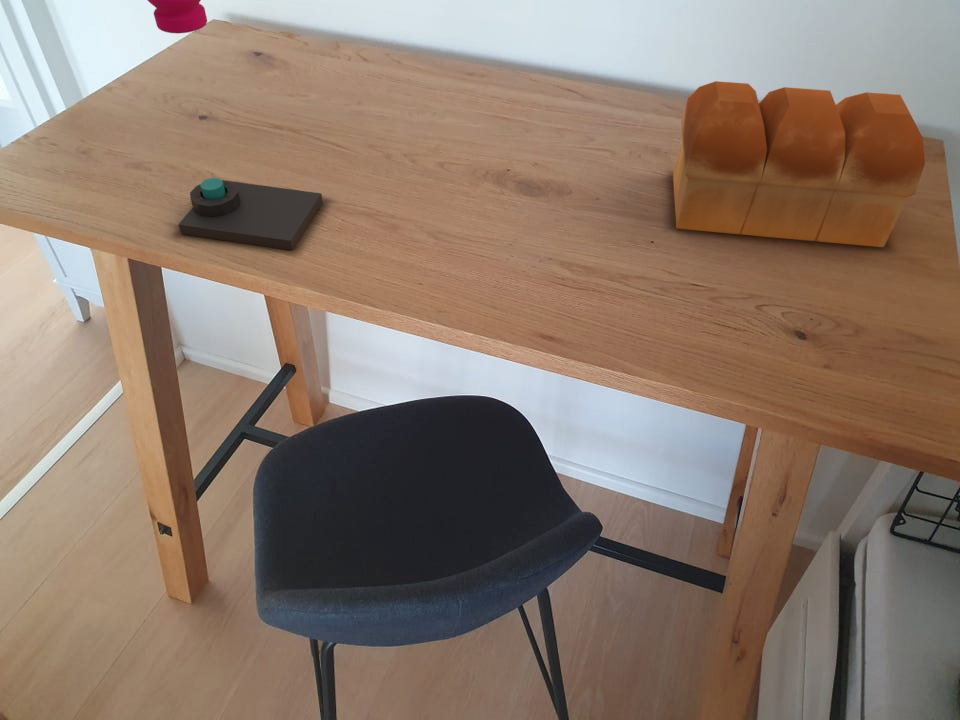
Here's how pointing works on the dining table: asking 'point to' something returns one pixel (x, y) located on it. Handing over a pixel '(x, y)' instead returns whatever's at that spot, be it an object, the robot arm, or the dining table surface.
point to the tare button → (212, 188)
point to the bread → (795, 164)
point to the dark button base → (252, 215)
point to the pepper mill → (179, 15)
